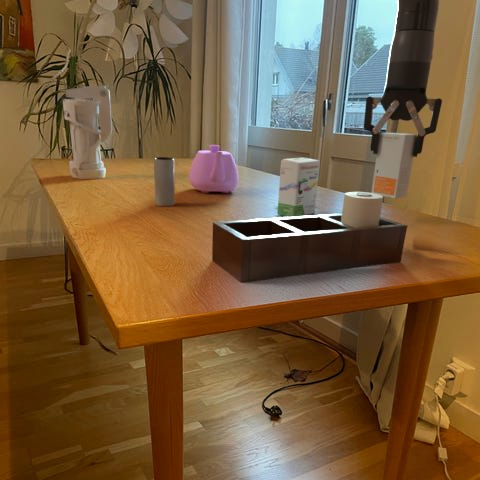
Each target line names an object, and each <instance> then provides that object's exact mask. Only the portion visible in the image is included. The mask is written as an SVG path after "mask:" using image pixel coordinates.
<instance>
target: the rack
mask: <svg viewBox="0 0 480 480" xmlns="http://www.w3.org/2000/svg"><path fill="white" fill-rule="evenodd" d="M341 217H342V213H329V214H314V215H313V214H311V215H304V216H297V217H288V216H283V217H282V216H281V217H271V218H269V217H268V218H254V219H253V218H252V219H241V220H239V219H238V220H227V221H226V220H225V221H213V222H212V247H211V248H212V249H211V250H212V252H211V261H212V262H214V264H216V265H218V267H220V268H222V270H224V271H225V272H226V273H228V274H229V275H230V276H232V277H234V279H236V280H237V281H239V282H240V283H247V282H255V281H263V280H271V279H278V278H286V277H287V278H288V277H294V276H301V275H309V274H318V273H326V272H335V271H341V270H349V269H358V268H365V267H373V266H380V265H381V266H382V265H389V264H396V263H401V261H402V257H403V252H404V251H403V250H404V247H405V241H406V236H407V230H408V225H406V224H404V223H401V222H397V221H395V220H392V219H388V218H384V217H382V216H380V221H379V226H372V227H361V228H355V227H352V226H349V225H347V224H344V223H341Z"/></svg>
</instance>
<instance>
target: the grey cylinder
mask: <svg viewBox="0 0 480 480" xmlns="http://www.w3.org/2000/svg"><path fill="white" fill-rule="evenodd" d="M153 180H154V183H153V184H154V203H155V206H158V207H173V206H175V205H176V192H175V191H176V190H175V186H176V185H175V158H174V157H167V156H158V157H157V156H156V157H153Z"/></svg>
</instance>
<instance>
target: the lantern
mask: <svg viewBox="0 0 480 480" xmlns="http://www.w3.org/2000/svg"><path fill="white" fill-rule="evenodd" d="M107 87H108V85H89V86H88V85H87V86H80V87H75V88H68V89H64V92H65V98H63V99H62V107H63V117H64V120H66V121H69V130H70V132H69V133H70V141H71V153H72V160H70V161H68V165H69V172H70V175H71V178H73V179H81V180H99V179H104V178H105V177H106V173H107V168H106V167H105V165H104V161H102V155H101V146H100V145H102V144H103V143H106V141H107V140H108V139H109V137H110V136H111V135H112V133H113V121H112V106H111V93H110V92H111V91H110V89H108V88H107ZM96 99H97V100H96Z"/></svg>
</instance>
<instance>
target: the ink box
mask: <svg viewBox="0 0 480 480" xmlns="http://www.w3.org/2000/svg"><path fill="white" fill-rule="evenodd" d="M320 167H321V160H319V159H314V158H309V157H292V158H283V159H282V160H280V172H279V185H278V200H277V210H276V211H277V212H276V213H277V215H278V216H279V215H280V216H283V217H297V216H309V215H313V214H315V212H316V204H317V203H316V202H317V194H318V184H319V177H320Z"/></svg>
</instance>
